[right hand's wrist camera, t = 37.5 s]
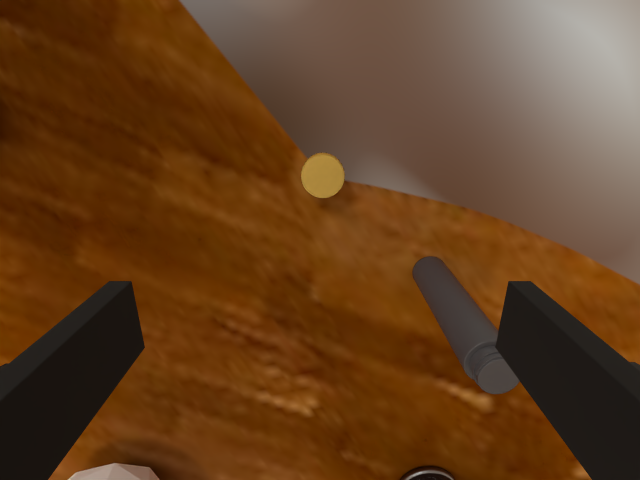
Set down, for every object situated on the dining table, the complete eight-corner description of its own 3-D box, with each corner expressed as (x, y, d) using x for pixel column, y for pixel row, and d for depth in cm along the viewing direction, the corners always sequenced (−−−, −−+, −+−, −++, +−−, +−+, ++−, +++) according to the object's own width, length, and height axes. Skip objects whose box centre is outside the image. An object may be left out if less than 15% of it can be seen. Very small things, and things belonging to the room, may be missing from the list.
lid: (297, 188, 41) (296, 192, 39) (307, 147, 40) (307, 149, 38) (337, 199, 42) (338, 203, 40) (349, 158, 40) (350, 161, 38)
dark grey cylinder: (449, 259, 44) (535, 359, 27) (440, 288, 46) (515, 402, 28) (417, 253, 44) (482, 351, 26) (408, 283, 45) (465, 394, 28)
